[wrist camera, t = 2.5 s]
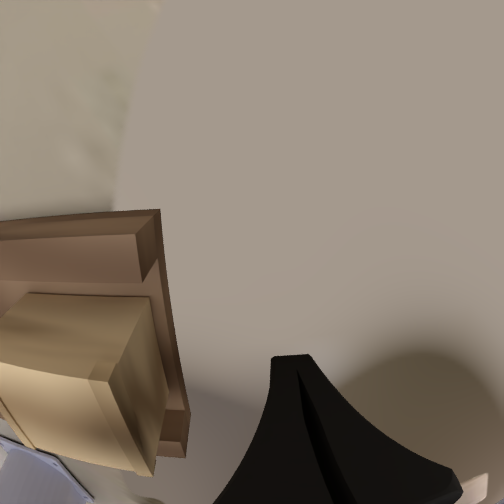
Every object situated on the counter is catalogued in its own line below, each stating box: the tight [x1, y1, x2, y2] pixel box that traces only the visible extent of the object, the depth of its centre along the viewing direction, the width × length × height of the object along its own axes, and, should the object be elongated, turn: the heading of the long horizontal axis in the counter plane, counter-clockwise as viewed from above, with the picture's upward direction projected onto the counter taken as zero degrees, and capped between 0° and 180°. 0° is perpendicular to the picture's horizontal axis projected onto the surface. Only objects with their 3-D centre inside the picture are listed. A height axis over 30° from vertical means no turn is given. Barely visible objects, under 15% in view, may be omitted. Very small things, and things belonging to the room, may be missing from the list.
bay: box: [0, 209, 191, 458], centre depth 11 cm, size 11×16×4 cm
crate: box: [0, 293, 169, 477], centre depth 10 cm, size 5×6×5 cm
